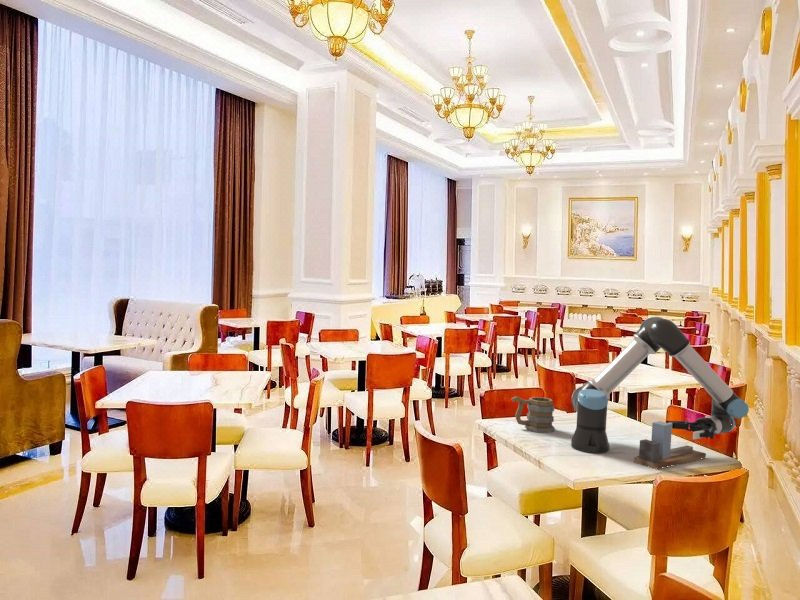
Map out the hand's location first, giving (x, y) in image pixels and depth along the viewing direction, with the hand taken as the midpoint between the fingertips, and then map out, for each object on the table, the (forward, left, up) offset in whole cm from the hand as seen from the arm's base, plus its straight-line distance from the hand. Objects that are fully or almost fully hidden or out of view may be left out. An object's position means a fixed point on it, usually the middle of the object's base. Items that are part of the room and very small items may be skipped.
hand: (677, 431), depth 242 cm
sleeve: (0, -10, -9) cm, 13 cm away
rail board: (0, -3, -11) cm, 12 cm away
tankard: (-60, -19, -11) cm, 64 cm away
